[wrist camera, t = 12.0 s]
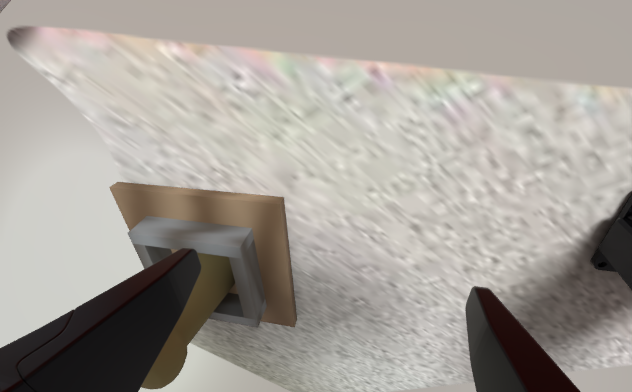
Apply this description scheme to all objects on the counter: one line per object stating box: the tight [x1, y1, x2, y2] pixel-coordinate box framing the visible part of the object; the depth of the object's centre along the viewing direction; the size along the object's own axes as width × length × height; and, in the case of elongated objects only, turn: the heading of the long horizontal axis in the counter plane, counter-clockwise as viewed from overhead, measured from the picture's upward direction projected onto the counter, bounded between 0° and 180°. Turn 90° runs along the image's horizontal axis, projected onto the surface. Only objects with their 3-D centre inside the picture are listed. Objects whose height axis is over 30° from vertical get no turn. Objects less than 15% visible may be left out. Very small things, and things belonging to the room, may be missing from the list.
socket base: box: [110, 182, 297, 327], centre depth 29 cm, size 16×16×4 cm
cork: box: [141, 253, 235, 389], centre depth 26 cm, size 6×6×11 cm
